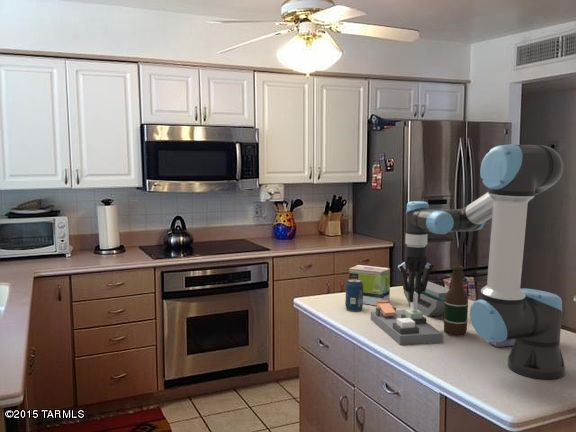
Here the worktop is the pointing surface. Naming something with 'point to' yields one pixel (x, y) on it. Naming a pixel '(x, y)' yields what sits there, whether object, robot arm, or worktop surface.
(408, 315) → the green button
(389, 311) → the rocker switch
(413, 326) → the white button
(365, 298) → the tea box
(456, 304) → the beer bottle
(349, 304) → the soda can
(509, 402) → the worktop surface
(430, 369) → the worktop surface
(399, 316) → the control console
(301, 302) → the worktop surface
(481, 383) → the worktop surface
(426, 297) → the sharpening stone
